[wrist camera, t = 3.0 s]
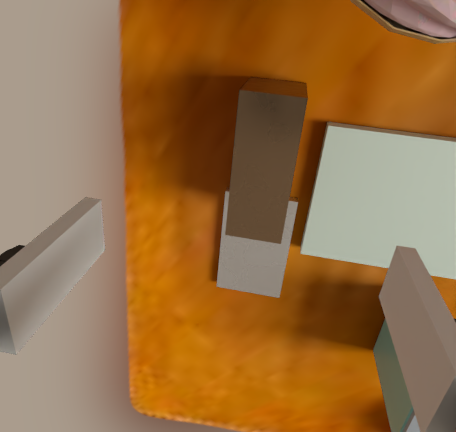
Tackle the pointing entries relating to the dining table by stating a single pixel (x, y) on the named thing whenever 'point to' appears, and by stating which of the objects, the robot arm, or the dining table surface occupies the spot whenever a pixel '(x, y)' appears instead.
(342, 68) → the dining table surface
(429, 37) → the ice cream cone
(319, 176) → the board
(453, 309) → the dining table surface
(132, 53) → the dining table surface
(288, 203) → the brown grey long block
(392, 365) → the tile
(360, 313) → the dining table surface
